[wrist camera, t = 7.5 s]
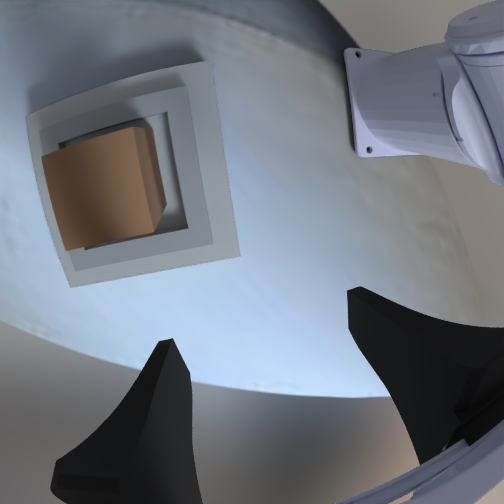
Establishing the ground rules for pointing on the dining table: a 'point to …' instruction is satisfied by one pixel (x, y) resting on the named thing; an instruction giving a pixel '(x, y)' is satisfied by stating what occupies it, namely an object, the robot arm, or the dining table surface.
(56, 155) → the walnut block
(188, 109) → the grey square tray
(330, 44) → the dining table surface
